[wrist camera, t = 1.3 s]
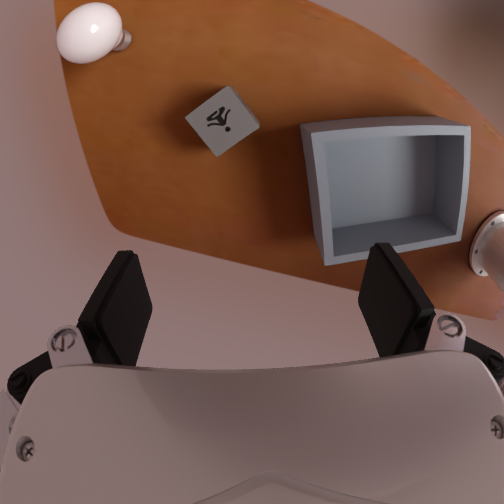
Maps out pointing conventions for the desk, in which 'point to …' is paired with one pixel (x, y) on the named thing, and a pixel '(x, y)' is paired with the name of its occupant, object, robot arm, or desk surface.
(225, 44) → the desk surface
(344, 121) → the box
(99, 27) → the lightbulb
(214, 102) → the dice cube
